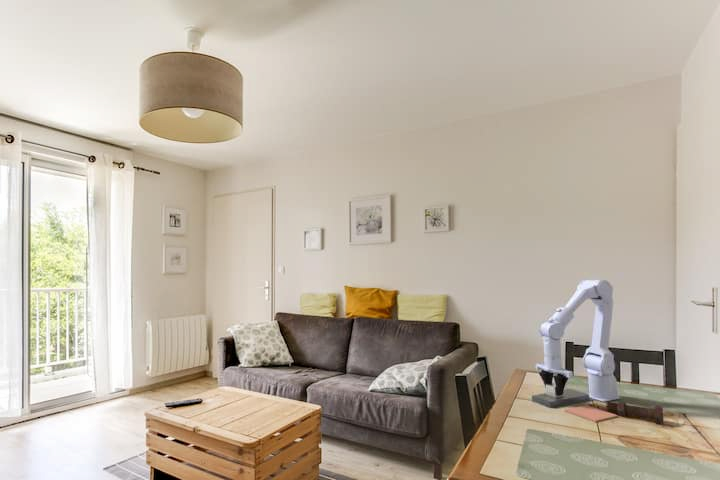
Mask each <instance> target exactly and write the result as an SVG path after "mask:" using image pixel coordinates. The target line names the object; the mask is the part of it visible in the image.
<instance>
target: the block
mask: <svg viewBox="0 0 720 480" xmlns="http://www.w3.org/2000/svg"><path fill="white" fill-rule="evenodd" d="M590 399H591V398H589V393H585V392H582V391H579V390H575V389H572V388H568V389H564V391H563V398H558V399H554V398H551V397H548V396H546V392H545V393H537V394H534V395H531V401H532V402H534V403H536V404H539V405H541V406H544V407H547V408H549V409H550V408H551V409H553V408H557V407H561V406H566V405H573V404H576V403H582V402H586V401H590Z"/></svg>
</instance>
